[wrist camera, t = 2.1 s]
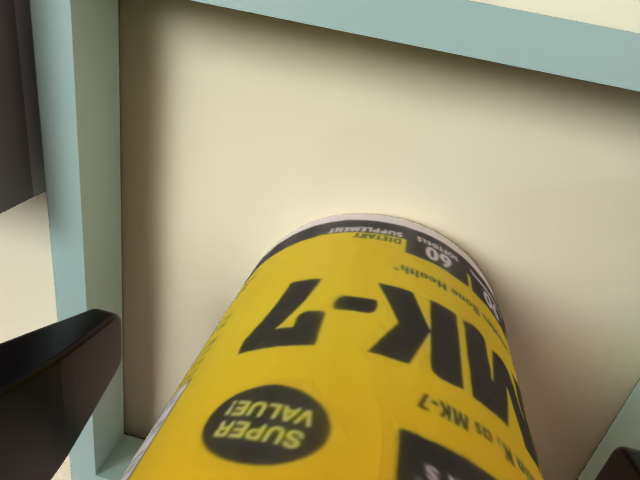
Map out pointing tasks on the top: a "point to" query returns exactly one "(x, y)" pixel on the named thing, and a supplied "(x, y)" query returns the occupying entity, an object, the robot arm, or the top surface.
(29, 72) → the grey socket tray
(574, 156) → the top surface
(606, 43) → the green square frame
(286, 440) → the supplement bottle
